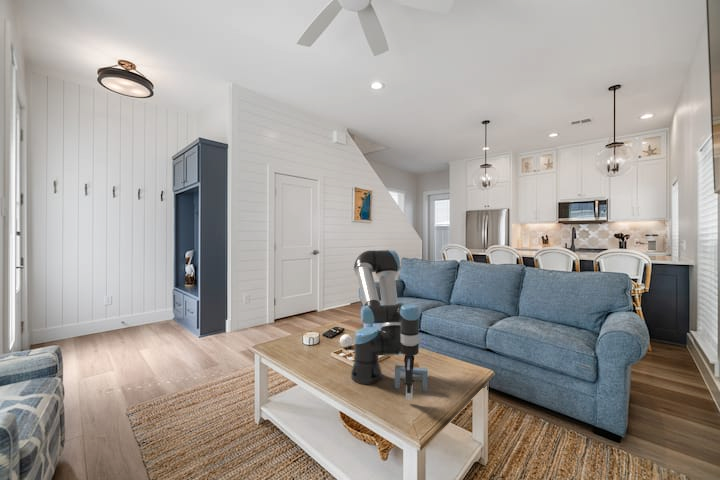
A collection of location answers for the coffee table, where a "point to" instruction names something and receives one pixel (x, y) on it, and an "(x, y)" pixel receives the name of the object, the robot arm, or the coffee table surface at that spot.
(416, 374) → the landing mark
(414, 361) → the ball
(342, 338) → the geometric ball
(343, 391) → the coffee table surface
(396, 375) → the bridge
